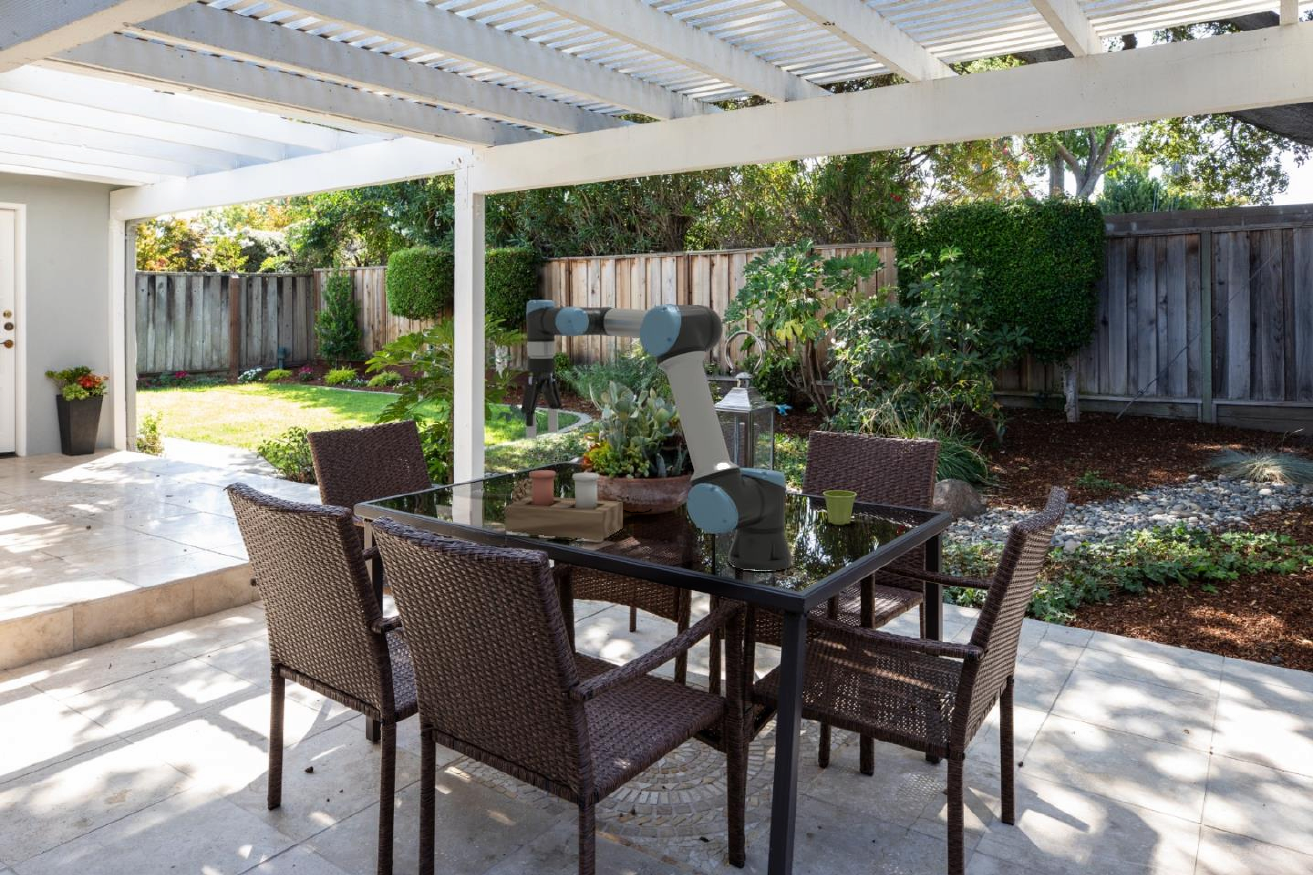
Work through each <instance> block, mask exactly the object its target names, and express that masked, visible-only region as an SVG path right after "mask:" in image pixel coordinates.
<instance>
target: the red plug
mask: <svg viewBox="0 0 1313 875" xmlns="http://www.w3.org/2000/svg"><path fill="white" fill-rule="evenodd" d="M528 473H529V474H528V475H529V478H531V479H532V505H537V506H552V505H554V497H555V492H554V491H555V488H554V487H555V486H554V485H555V484H554V483H555V482H554V480H555V479H554V478H555V477H556V475H557V474H556V471H555V470H551V469H550V470H547V469H541V470H539V469H538V470H532V471H529V472H528Z"/></svg>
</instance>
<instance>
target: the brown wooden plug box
mask: <svg viewBox="0 0 1313 875" xmlns="http://www.w3.org/2000/svg"><path fill="white" fill-rule="evenodd" d="M623 512H624V511H623V502H619V500H616V501H615V500H602V499H601V500H600V499H597V508H596V509H580V508H575V498H572V497H559V496H558V497H557V496H556V497H555V496H554V505H552V506H537V505H532V496H530V497H527V498H525V499H522V500H520V501H517V502H512V503H510V504H508V505H506V506H504V515H505V516H504V518H505V519H504V522H505V525H504V526H505V532H506V531H512V532H521V533H527V534H534V535H544V536H557V537H569V538H584V539H593V540H603V539H604V538H607V537H609V536H610V535H612V534H614V533H616V532H617V531H619V530H620V529H622V528H623V525H624V524H623V522H624V521H623V520H624V518H623V514H624V513H623ZM623 529H624V528H623Z"/></svg>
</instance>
